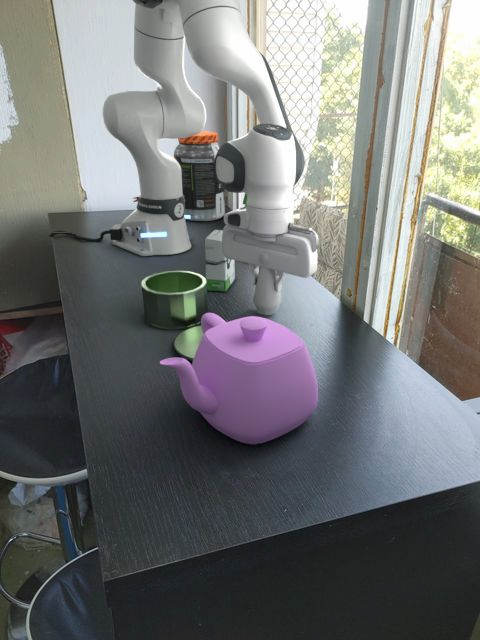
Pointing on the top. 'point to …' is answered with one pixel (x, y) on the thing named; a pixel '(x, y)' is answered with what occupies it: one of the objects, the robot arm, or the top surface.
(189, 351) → the lid
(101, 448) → the top surface
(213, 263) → the ink box
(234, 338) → the teapot
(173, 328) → the bowl
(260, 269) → the salt shaker
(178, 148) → the supplement tub
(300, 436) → the top surface
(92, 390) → the top surface
